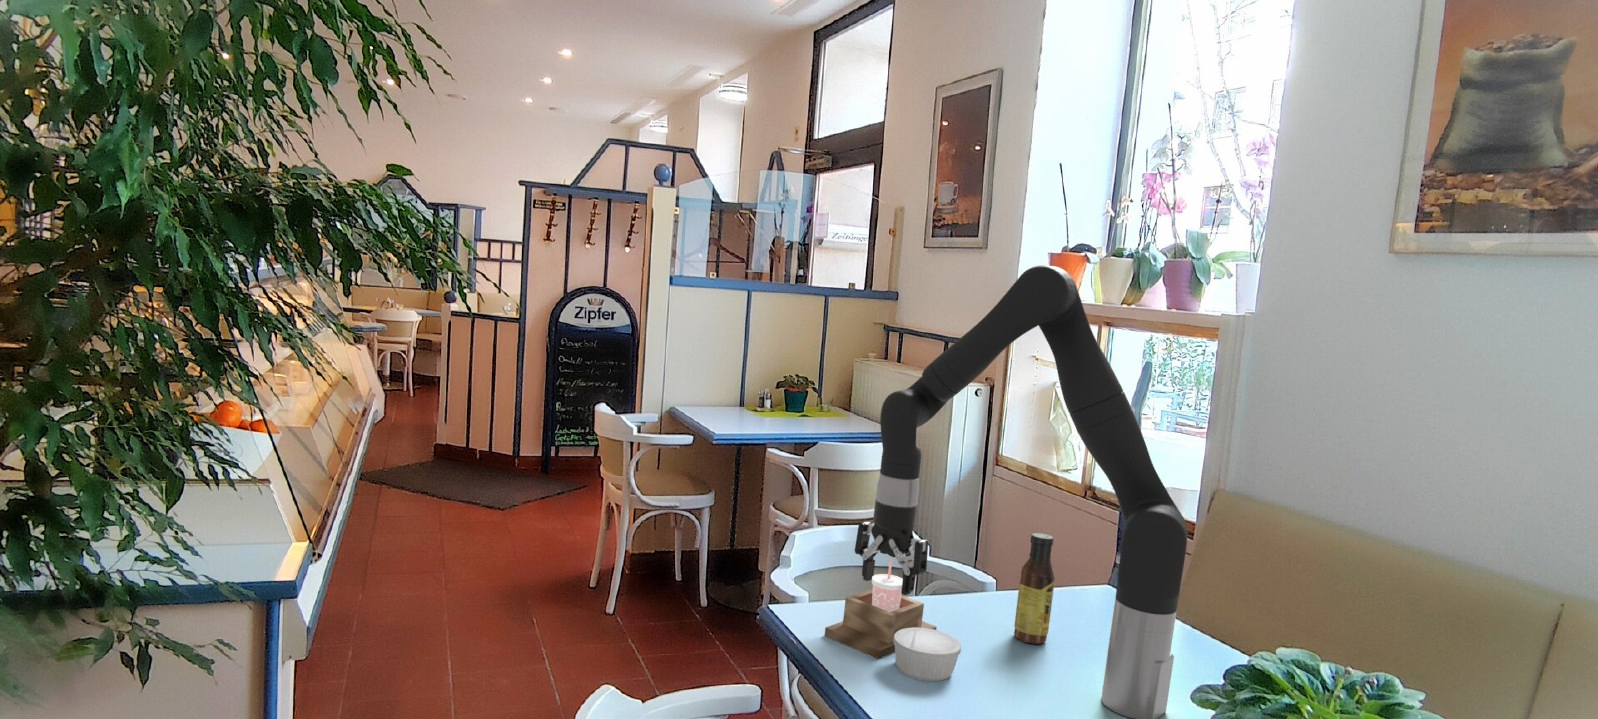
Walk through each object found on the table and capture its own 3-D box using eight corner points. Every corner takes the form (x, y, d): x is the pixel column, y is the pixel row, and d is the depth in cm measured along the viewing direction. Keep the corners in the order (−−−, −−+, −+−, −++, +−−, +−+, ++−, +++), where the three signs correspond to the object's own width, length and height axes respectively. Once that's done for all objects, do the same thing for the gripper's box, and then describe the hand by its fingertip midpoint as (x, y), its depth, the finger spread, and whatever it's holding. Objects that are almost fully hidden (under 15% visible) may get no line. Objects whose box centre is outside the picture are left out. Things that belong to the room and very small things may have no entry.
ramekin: (879, 657, 157) (882, 627, 156) (936, 653, 161) (939, 625, 160) (909, 687, 146) (913, 656, 146) (969, 682, 150) (973, 652, 150)
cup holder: (935, 634, 169) (939, 600, 168) (878, 659, 155) (882, 622, 155) (883, 613, 177) (887, 581, 176) (824, 635, 163) (828, 600, 163)
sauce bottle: (1047, 648, 168) (1061, 543, 166) (1013, 642, 169) (1026, 538, 167) (1045, 634, 174) (1059, 534, 172) (1012, 629, 176) (1025, 529, 174)
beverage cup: (860, 622, 167) (868, 548, 166) (889, 619, 170) (897, 546, 169) (876, 635, 162) (885, 559, 160) (906, 632, 164) (915, 557, 163)
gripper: (941, 506, 162) (930, 594, 163) (877, 488, 171) (867, 571, 173) (918, 512, 156) (907, 603, 158) (852, 492, 165) (843, 579, 167)
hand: (886, 586), depth 165 cm, fingers open, 8 cm apart
